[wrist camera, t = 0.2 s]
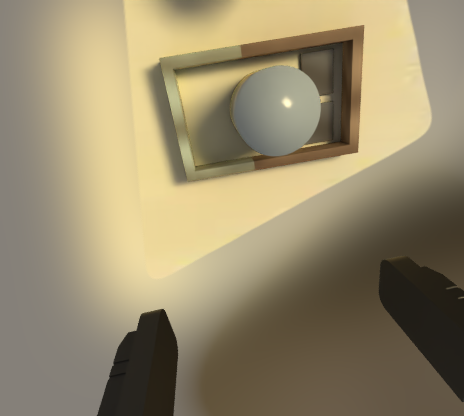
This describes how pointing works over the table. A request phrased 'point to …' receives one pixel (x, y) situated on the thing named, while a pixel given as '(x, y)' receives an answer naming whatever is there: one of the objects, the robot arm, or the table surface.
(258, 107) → the slate stoneware canister
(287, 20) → the table surface
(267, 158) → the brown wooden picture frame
